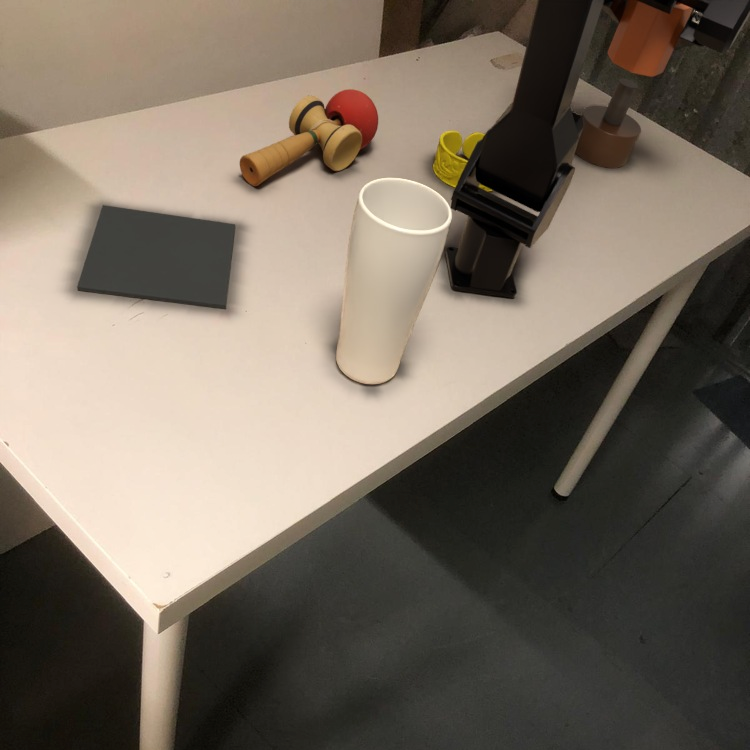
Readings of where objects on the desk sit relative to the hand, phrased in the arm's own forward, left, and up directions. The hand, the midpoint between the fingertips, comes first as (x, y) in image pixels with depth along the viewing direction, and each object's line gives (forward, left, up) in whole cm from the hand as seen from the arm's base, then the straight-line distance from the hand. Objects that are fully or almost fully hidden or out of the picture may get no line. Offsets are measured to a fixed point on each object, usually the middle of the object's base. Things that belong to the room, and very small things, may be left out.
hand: (650, 34), depth 86 cm
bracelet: (-12, +20, -14) cm, 27 cm away
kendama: (-15, +38, -14) cm, 43 cm away
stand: (-1, +1, -13) cm, 14 cm away
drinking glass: (-46, +33, -14) cm, 58 cm away
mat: (-35, +51, -13) cm, 63 cm away
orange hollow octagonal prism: (-1, +1, -3) cm, 3 cm away
